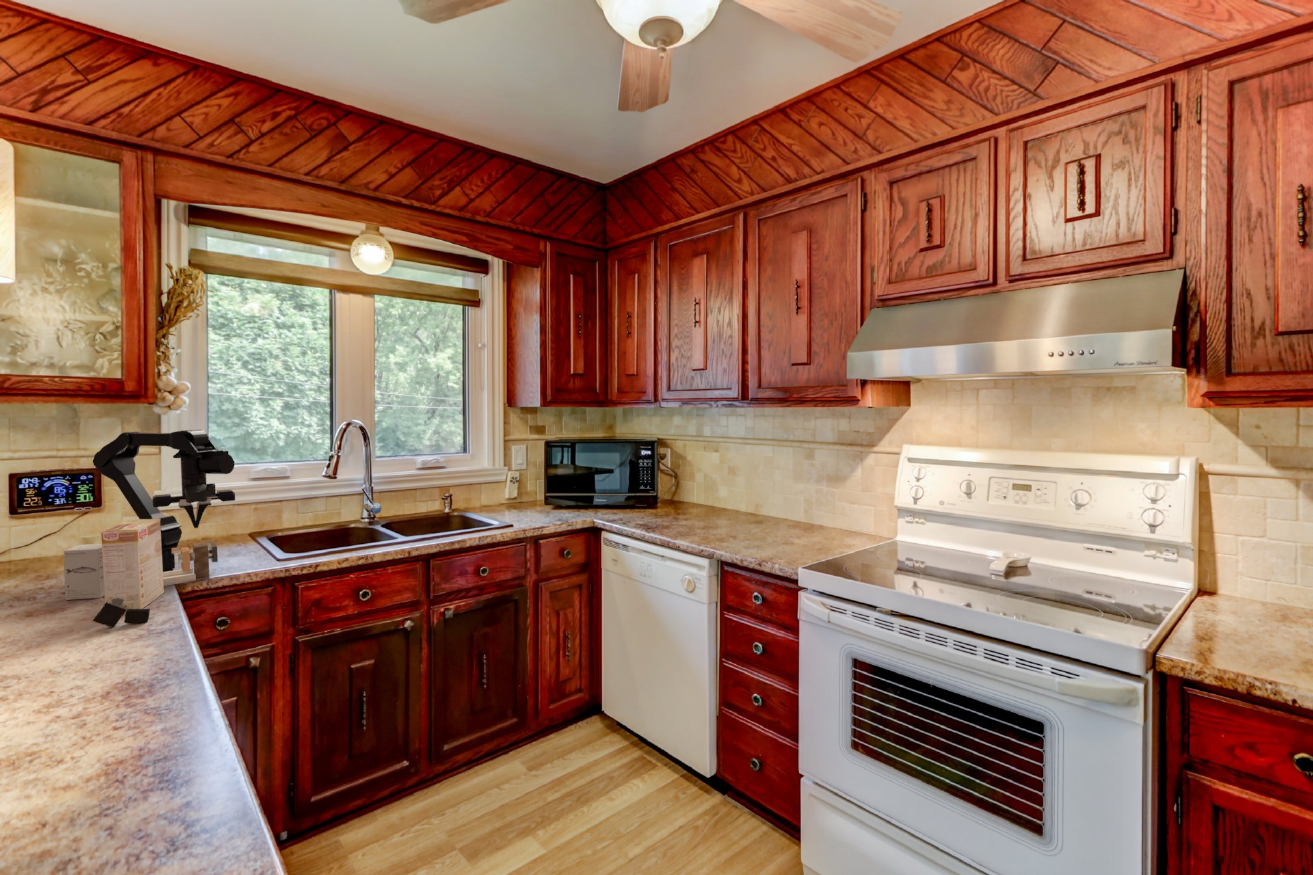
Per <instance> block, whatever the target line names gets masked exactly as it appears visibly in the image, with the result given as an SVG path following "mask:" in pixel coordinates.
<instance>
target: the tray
mask: <svg viewBox="0 0 1313 875" xmlns="http://www.w3.org/2000/svg"><path fill="white" fill-rule="evenodd" d="M196 581H197V580H196V575H195V574H194V567H190V571H187V572H183V571H182V569H175V570H174V569H173V571H167V572H163V587H164V586H172V585H179V584H185V583H193V582H196Z"/></svg>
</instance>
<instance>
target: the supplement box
mask: <svg viewBox="0 0 1313 875" xmlns="http://www.w3.org/2000/svg"><path fill="white" fill-rule="evenodd" d="M63 572H64V596H65V597H64V598H65V601H70V600H83V599H84V600H86V599H88V600H89V599H101V598H103V597H105V593H104V574H103V558H102V543H89V544H86V543H85V544H78V545H75V546H73V547H70V548H66V549H65V550H63Z"/></svg>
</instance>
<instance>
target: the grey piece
mask: <svg viewBox="0 0 1313 875" xmlns="http://www.w3.org/2000/svg"><path fill="white" fill-rule="evenodd" d="M189 552H190V562H194V561H195V552H193V551H189ZM208 554H209V559H210V561H211V562H212V563H218V562H219V560H218V559H219V558H218V546H217V544H216V543H215V541H209V542H208ZM177 558H178V563H180V564H181V562H182V554H181V553H178V555H177Z"/></svg>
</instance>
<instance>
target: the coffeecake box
mask: <svg viewBox="0 0 1313 875" xmlns="http://www.w3.org/2000/svg"><path fill="white" fill-rule="evenodd" d="M100 537H101V544H102V558H103V574H104V593H105V596H104V604H105V603H106V602H107V601H110V602H112V599H114V598H116V599H117V598H120V599H123V600H124V601H123V603H122V606H125V605H126V606H127V607H126V608H127V609H145V607H147V606H148V605H149V604H151V603H152V602H153V601H155V600H157V598H159V597H160V596H162V595H163V594H164V593H165V590H164V589H165V588H164V586H163V566H162V547H161V527H160V519H139V518H137V519H136V518H135V519H129V520H126V521H123V522H122V523H119V524H116V525H114V526H112V527H111V526H110V527H109V528H106V529H105V530H102V531H100ZM125 613H126V611H125Z"/></svg>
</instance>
